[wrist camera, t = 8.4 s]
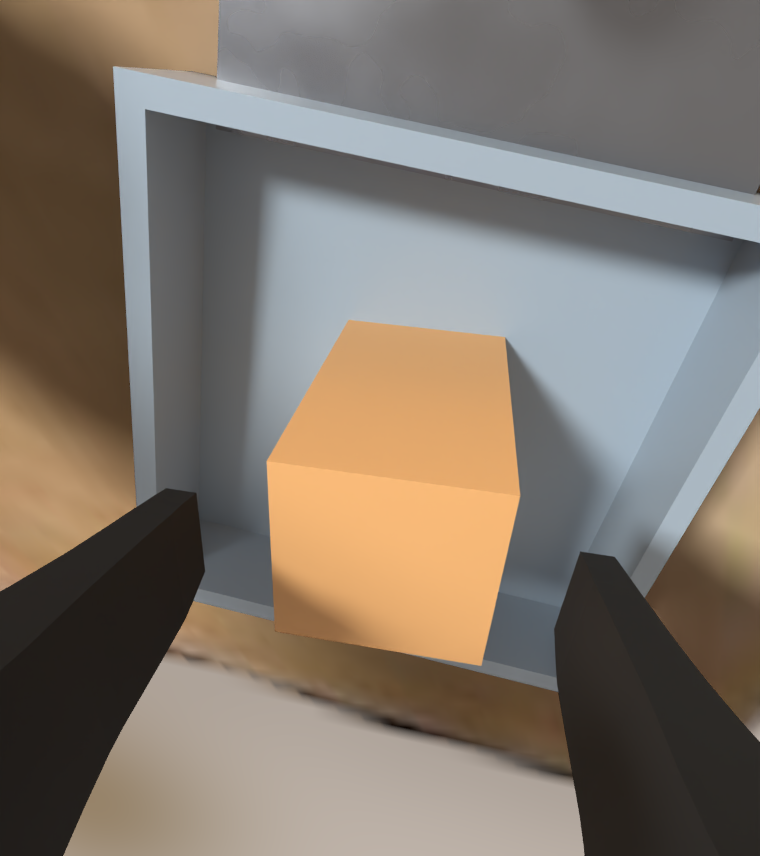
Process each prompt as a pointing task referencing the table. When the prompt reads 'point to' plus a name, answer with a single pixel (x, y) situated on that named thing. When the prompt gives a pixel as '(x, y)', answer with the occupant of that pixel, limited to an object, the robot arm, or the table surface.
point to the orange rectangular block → (396, 493)
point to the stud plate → (525, 76)
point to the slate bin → (429, 323)
